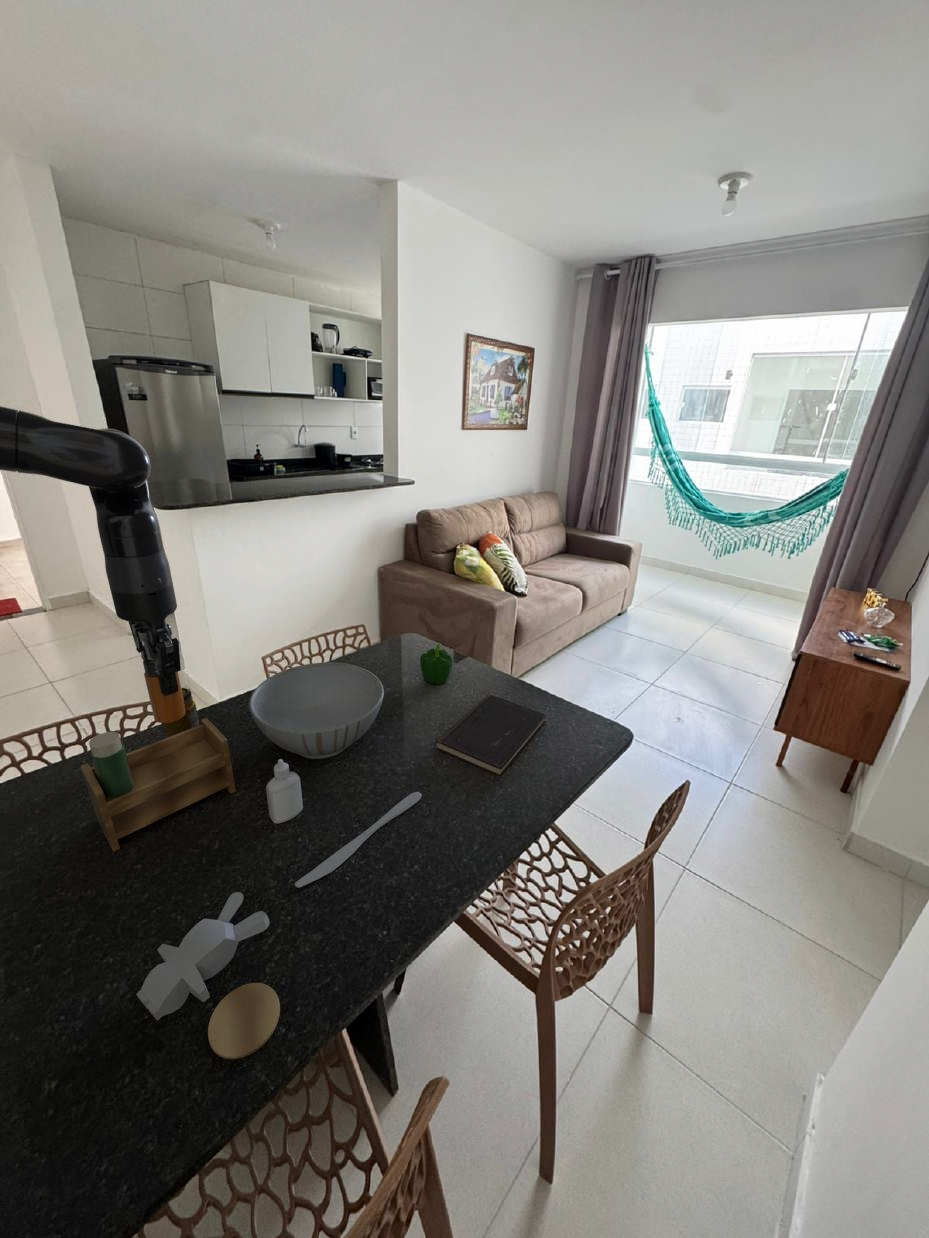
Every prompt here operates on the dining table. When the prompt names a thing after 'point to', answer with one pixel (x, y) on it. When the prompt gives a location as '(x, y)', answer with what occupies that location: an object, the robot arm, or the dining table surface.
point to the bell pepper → (436, 665)
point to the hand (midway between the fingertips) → (164, 686)
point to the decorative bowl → (317, 707)
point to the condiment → (188, 719)
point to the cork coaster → (244, 1021)
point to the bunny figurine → (197, 959)
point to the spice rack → (164, 780)
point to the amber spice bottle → (163, 697)
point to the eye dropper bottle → (284, 794)
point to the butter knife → (356, 842)
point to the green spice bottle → (111, 764)
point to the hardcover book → (492, 734)
